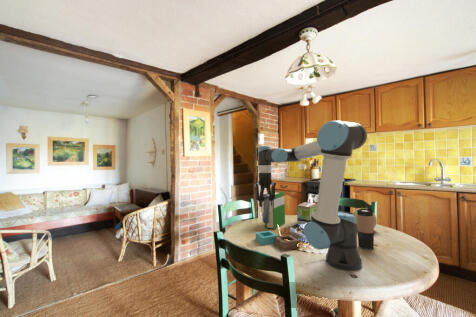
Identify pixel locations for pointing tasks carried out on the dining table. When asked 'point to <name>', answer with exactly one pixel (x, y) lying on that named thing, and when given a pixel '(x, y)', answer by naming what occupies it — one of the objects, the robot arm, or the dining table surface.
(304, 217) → the tea box
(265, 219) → the lock pin
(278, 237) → the walnut mount
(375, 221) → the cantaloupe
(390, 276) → the dining table surface
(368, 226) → the travel mug
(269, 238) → the teal socket
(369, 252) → the dining table surface
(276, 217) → the hardback book
